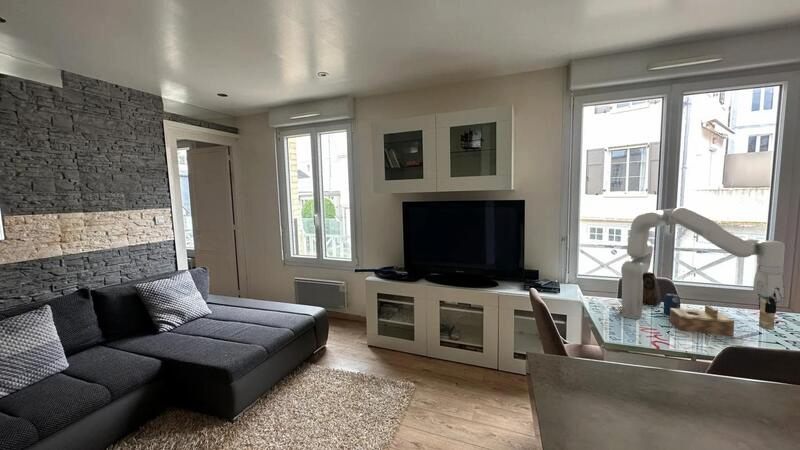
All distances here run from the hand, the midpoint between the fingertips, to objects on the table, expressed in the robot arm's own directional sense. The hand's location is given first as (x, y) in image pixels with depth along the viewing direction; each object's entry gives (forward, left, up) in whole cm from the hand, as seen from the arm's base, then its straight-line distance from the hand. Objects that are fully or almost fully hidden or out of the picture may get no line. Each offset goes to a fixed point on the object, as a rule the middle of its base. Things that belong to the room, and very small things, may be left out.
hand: (767, 310), depth 138 cm
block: (0, 0, -8) cm, 8 cm away
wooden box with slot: (-17, +13, -16) cm, 27 cm away
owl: (-25, +54, -17) cm, 62 cm away
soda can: (-22, +32, -17) cm, 42 cm away
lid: (-17, +13, -9) cm, 23 cm away
